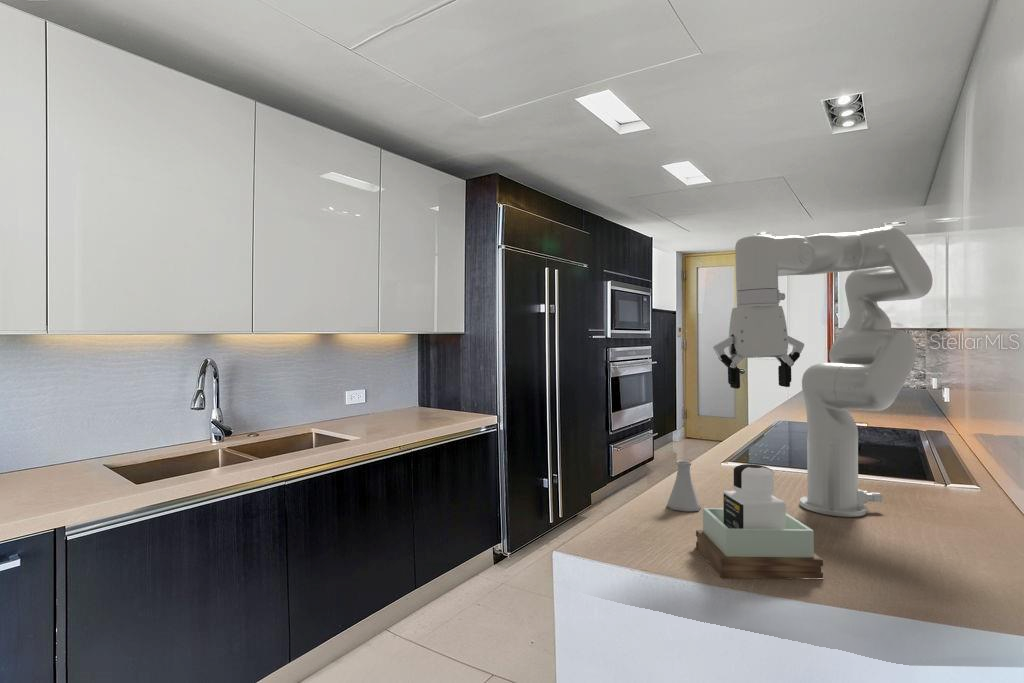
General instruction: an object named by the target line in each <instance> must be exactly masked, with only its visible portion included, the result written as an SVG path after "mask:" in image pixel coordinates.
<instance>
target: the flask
mask: <svg viewBox="0 0 1024 683" xmlns="http://www.w3.org/2000/svg"><path fill="white" fill-rule="evenodd" d="M691 465H692V462H691V461H688V460H677V461H676V466H677V468H676V469H677V470H676V471H677V473H676V479H675V481H674V484H673V488H672V490H671V493H670V495H669V499H668V501H667V503H666V507H667V508H669V509H671V510H675V511H680V512H699V511H700V510H701V509H702V505H701V503H700V500H699V497H698V495H697V493H696V490H695V489H696V488H695V486H694V484H693V481H692V475H691Z"/></svg>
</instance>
